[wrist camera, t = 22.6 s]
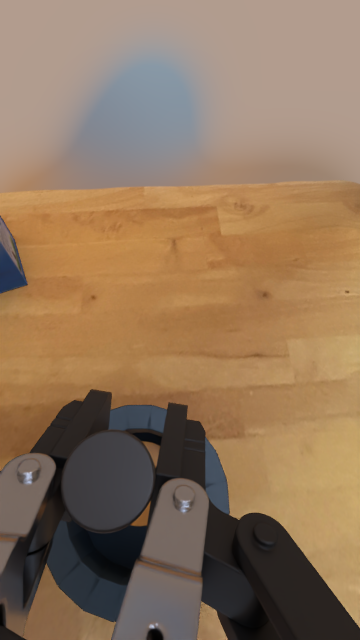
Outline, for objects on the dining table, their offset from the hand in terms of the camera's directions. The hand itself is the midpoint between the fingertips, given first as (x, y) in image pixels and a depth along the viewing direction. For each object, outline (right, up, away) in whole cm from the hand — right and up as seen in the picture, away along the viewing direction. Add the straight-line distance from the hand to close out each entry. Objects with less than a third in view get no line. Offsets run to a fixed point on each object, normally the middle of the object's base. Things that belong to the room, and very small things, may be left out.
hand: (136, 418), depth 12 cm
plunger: (-1, -8, +12) cm, 14 cm away
